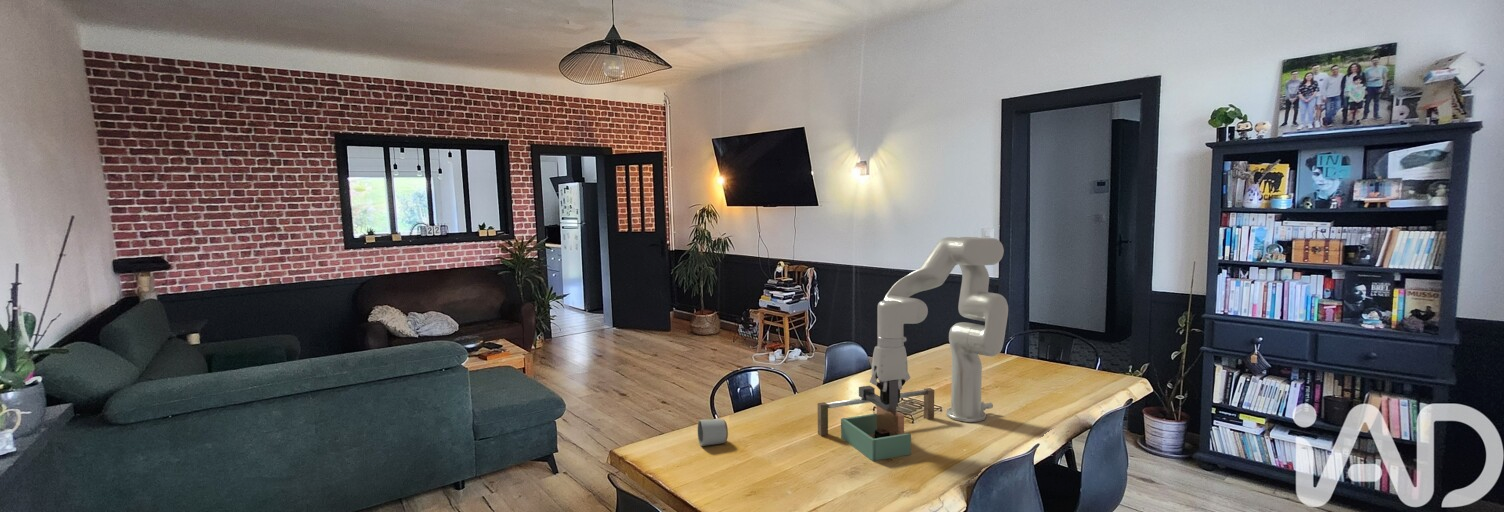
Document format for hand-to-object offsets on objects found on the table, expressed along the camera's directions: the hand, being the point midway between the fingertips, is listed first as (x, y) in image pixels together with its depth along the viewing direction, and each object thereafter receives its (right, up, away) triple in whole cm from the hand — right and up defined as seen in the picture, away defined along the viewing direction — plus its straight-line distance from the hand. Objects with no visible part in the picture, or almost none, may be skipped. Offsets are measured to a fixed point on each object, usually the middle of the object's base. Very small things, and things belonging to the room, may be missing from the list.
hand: (890, 402), depth 192 cm
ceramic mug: (-54, -14, +5) cm, 56 cm away
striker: (-1, -11, +6) cm, 12 cm away
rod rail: (-1, -11, +16) cm, 19 cm away
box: (-5, -13, 0) cm, 14 cm away
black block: (-2, -14, +1) cm, 14 cm away
